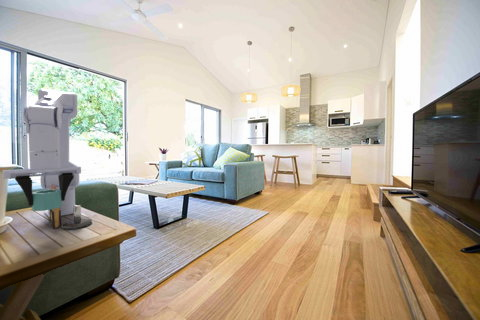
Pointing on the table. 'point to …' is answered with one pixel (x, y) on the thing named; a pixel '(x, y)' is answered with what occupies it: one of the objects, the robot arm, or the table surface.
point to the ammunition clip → (55, 214)
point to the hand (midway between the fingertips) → (47, 202)
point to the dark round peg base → (76, 220)
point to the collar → (46, 200)
